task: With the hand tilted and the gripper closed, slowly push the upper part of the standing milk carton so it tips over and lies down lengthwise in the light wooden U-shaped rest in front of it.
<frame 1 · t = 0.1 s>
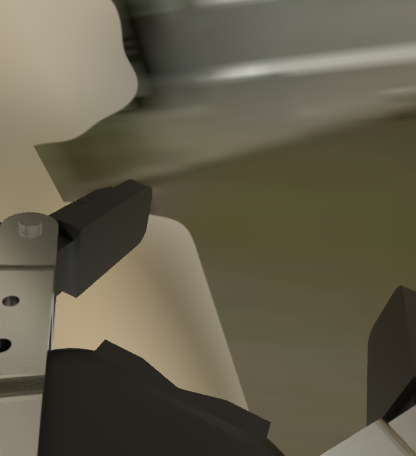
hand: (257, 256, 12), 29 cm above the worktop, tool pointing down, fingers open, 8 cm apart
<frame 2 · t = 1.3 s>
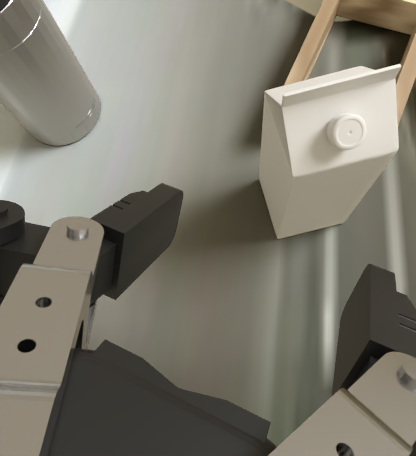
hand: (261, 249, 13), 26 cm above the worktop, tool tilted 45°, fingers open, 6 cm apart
milk carton: (300, 201, 41), on the worktop
U-rest: (349, 82, 44), on the worktop
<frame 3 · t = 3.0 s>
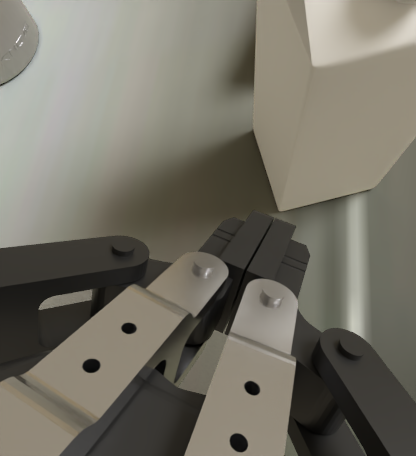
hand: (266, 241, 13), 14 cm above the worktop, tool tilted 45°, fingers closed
milk carton: (311, 159, 29), on the worktop
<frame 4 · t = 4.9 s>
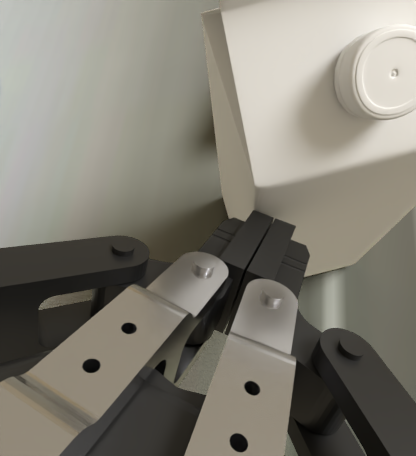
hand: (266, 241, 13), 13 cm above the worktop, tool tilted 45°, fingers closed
milk carton: (285, 229, 26), on the worktop
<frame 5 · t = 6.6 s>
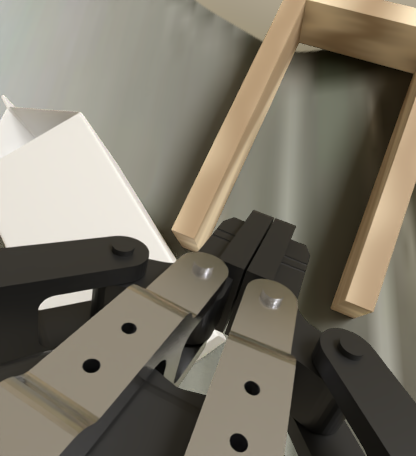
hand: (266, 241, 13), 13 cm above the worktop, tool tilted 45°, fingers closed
milk carton: (171, 381, 21), point 4 cm above the worktop
U-rest: (316, 151, 28), on the worktop
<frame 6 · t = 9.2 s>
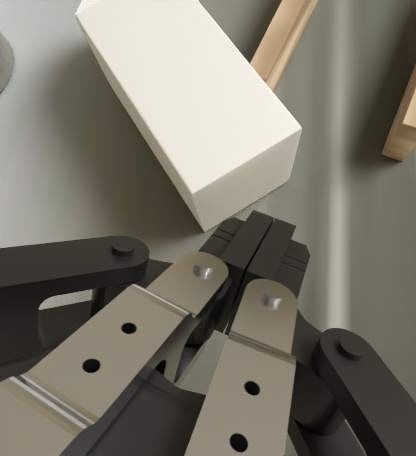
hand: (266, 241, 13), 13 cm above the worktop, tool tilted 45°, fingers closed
milk carton: (250, 191, 24), point 4 cm above the worktop
U-rest: (365, 28, 31), on the worktop
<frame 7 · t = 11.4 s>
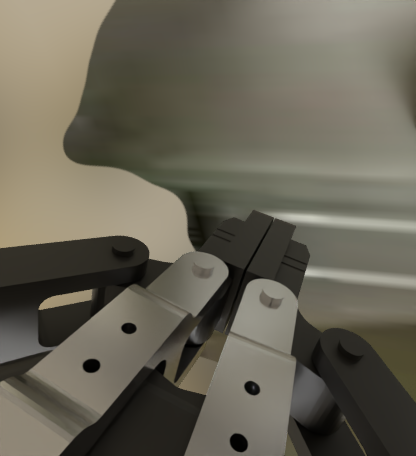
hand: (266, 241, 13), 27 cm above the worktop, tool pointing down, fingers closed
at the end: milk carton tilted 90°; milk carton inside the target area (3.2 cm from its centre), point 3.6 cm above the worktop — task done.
